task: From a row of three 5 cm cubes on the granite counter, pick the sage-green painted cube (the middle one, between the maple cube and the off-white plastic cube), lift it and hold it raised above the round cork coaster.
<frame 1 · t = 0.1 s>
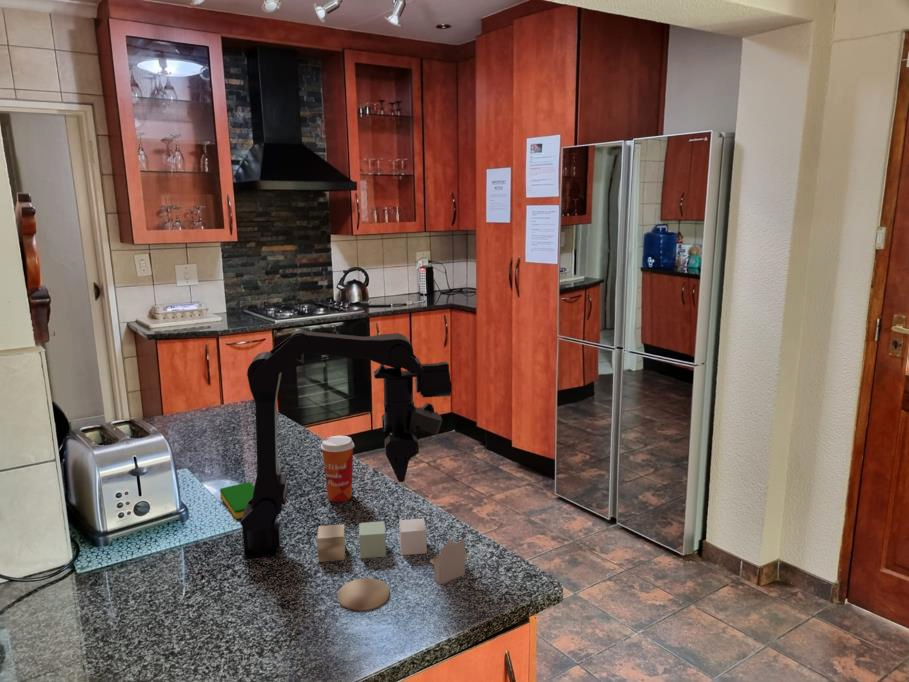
hand: (399, 472, 132), 14 cm above the countertop, fingers open, 9 cm apart
maple block: (332, 554, 129), on the countertop
sage block: (372, 551, 130), on the countertop
offwhite block: (412, 548, 131), on the countertop
architectural model: (449, 580, 121), on the countertop
paper cup: (340, 497, 154), on the countertop
dish sponge: (243, 505, 151), on the countertop
coaster: (363, 595, 115), on the countertop
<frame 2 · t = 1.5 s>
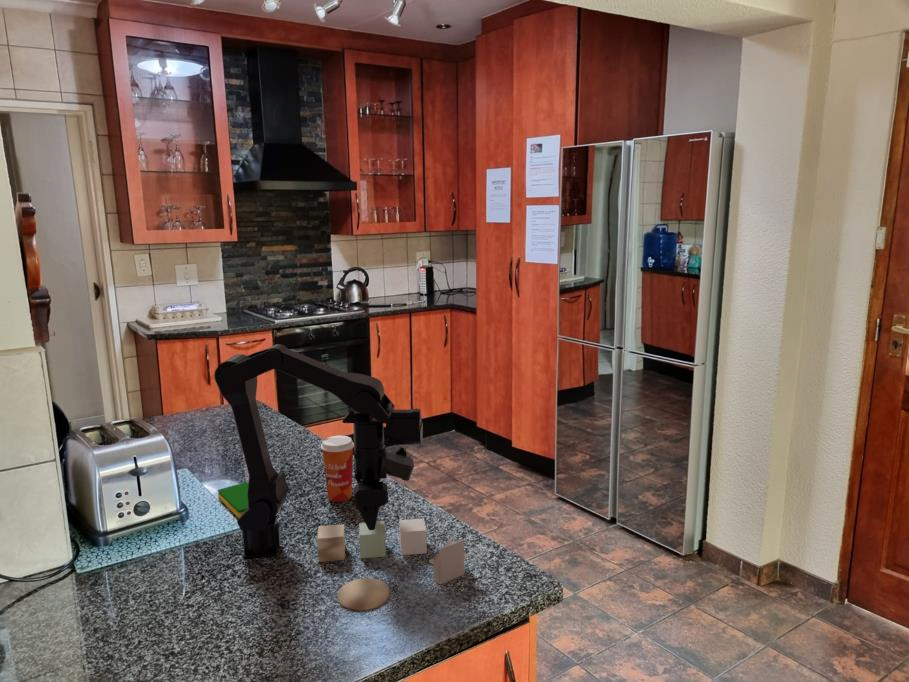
hand: (371, 518, 129), 7 cm above the countertop, fingers open, 9 cm apart
nothing on the countertop moved.
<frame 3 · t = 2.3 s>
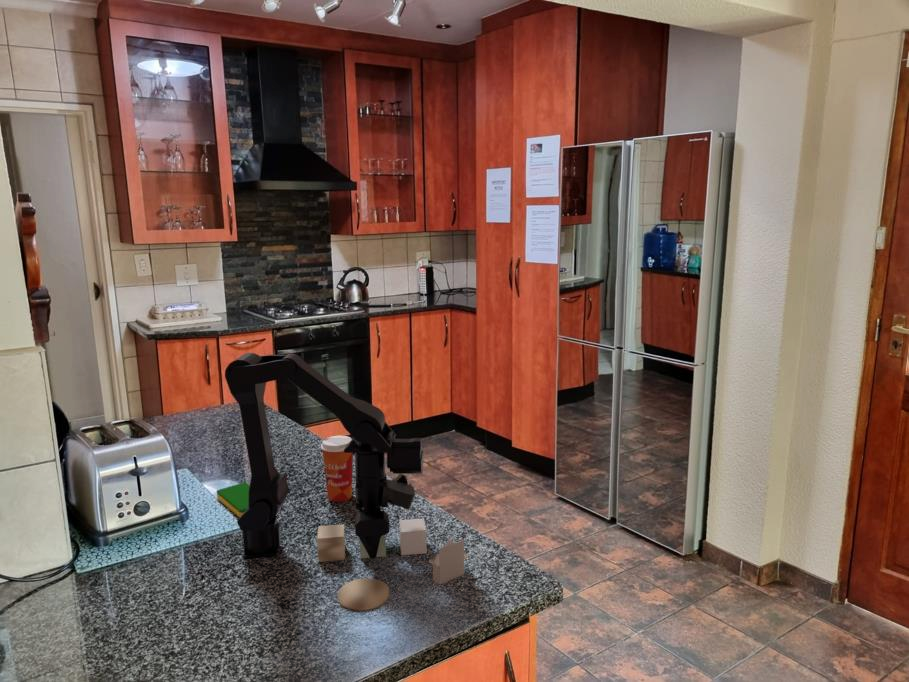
hand: (372, 546, 130), 1 cm above the countertop, fingers open, 9 cm apart
nothing on the countertop moved.
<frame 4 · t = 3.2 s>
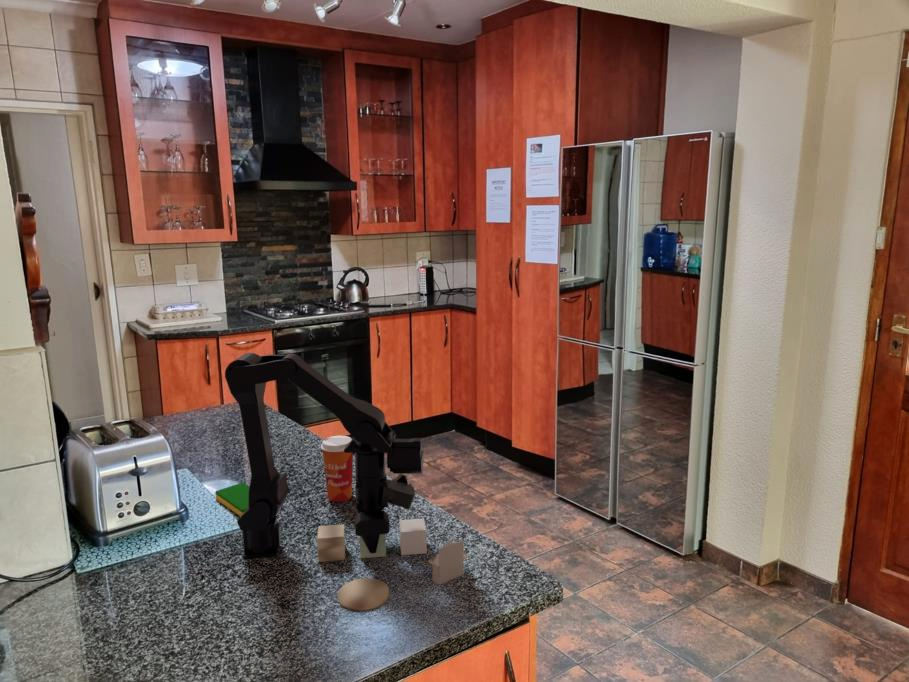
hand: (372, 546, 130), 1 cm above the countertop, fingers closed on sage block, 5 cm apart
sage block: (372, 550, 130), on the countertop, touching gripper
everything else where it was.
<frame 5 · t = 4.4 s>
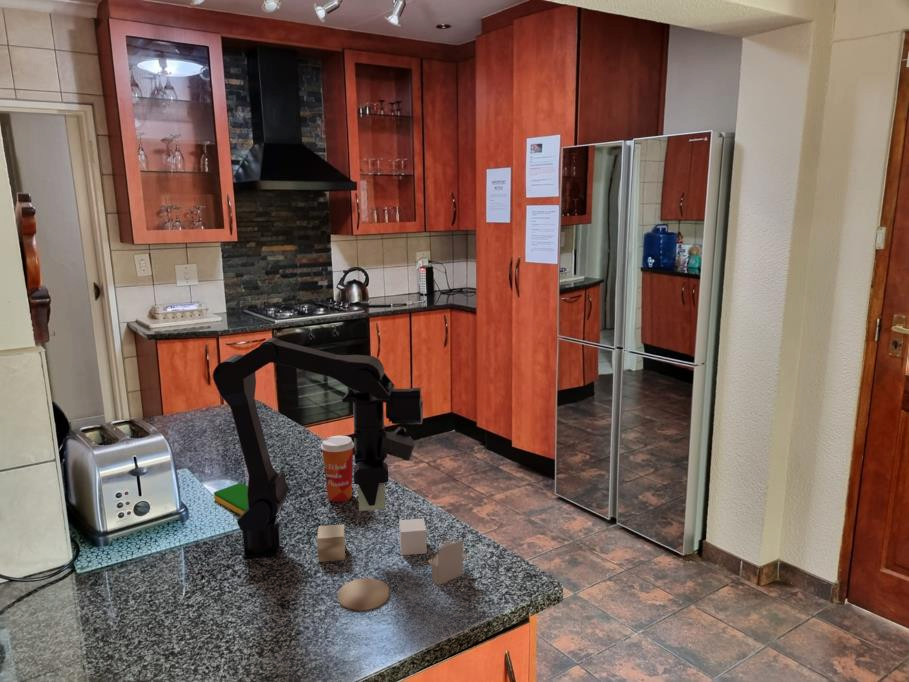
hand: (371, 499, 128), 11 cm above the countertop, fingers closed on sage block, 5 cm apart
sage block: (371, 504, 128), point 10 cm above the countertop, touching gripper
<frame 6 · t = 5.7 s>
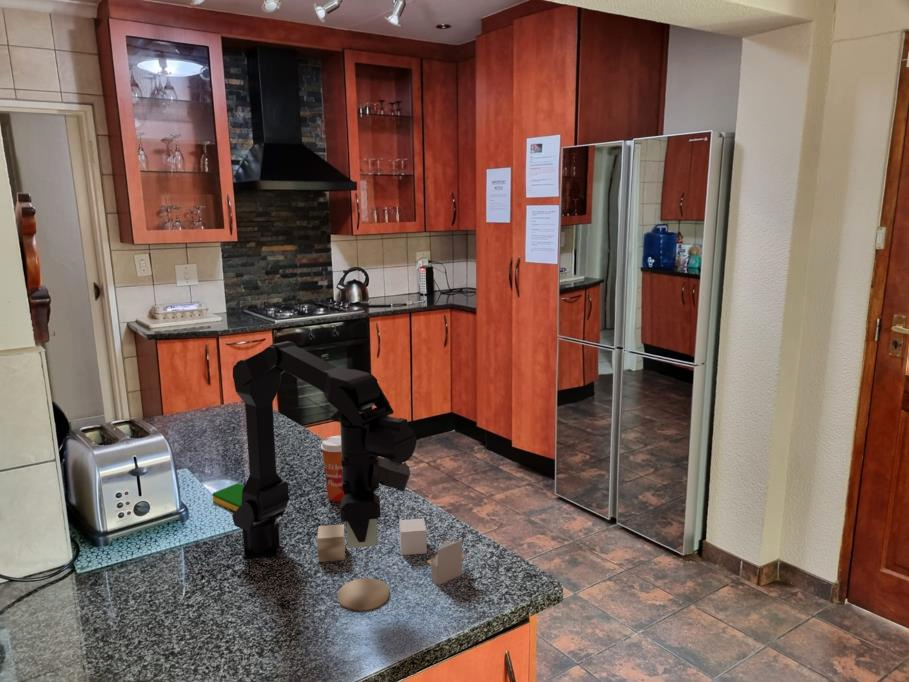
hand: (361, 534, 113), 12 cm above the countertop, fingers closed on sage block, 5 cm apart
sage block: (362, 539, 113), point 11 cm above the countertop, touching gripper
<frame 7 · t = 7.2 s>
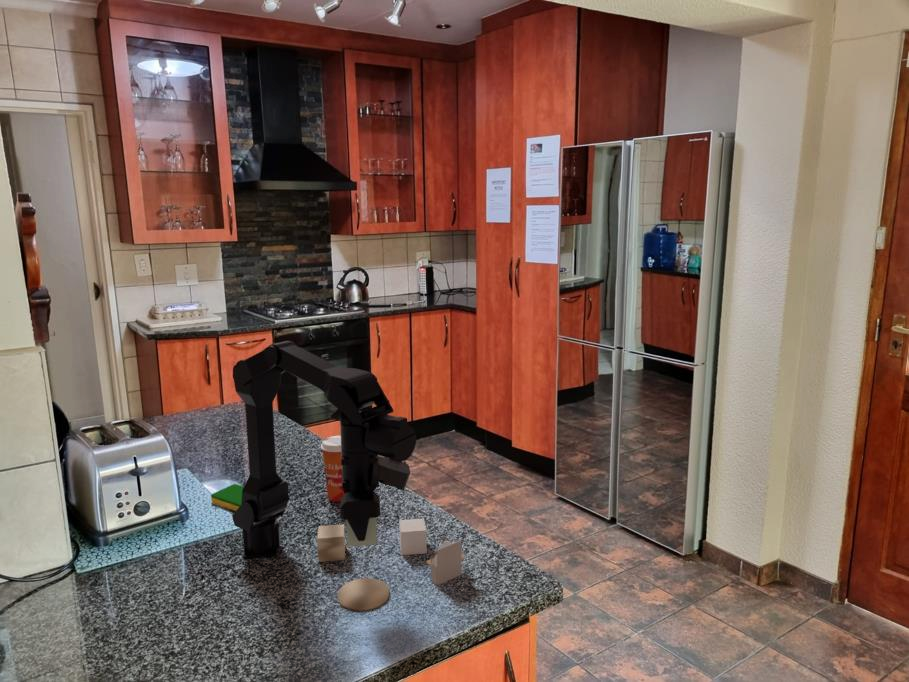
hand: (361, 532, 113), 12 cm above the countertop, fingers closed on sage block, 5 cm apart
sage block: (362, 538, 113), point 11 cm above the countertop, touching gripper
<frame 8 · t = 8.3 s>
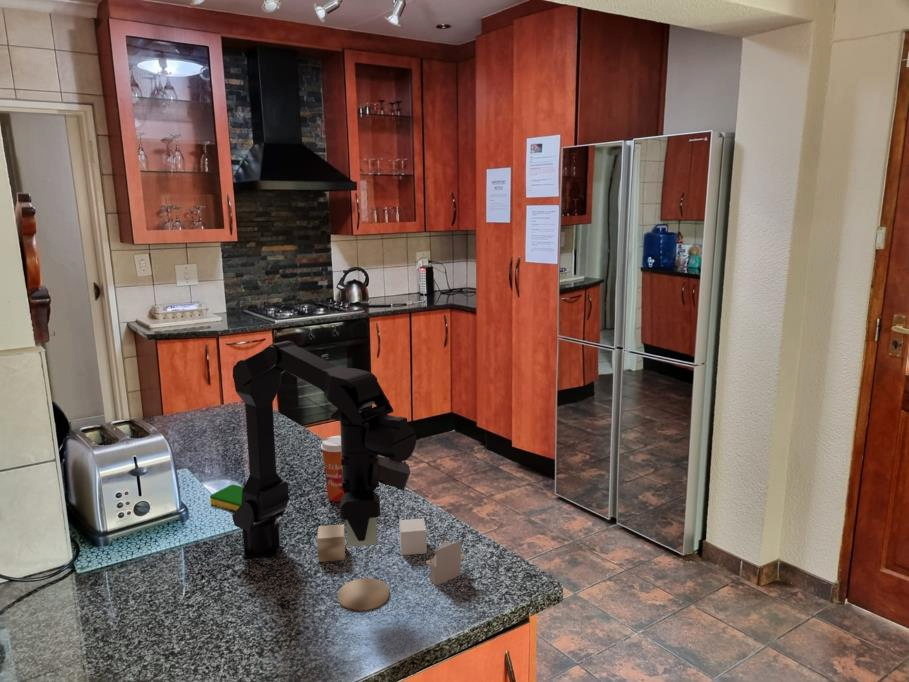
hand: (361, 532, 113), 12 cm above the countertop, fingers closed on sage block, 5 cm apart
sage block: (362, 538, 113), point 11 cm above the countertop, touching gripper
at the end: the gripper is holding sage block; sage block inside the target area on the coaster (0.1 cm from its centre), point 10.9 cm above the coaster's base; offwhite block moved 0.1 cm from its start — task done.
